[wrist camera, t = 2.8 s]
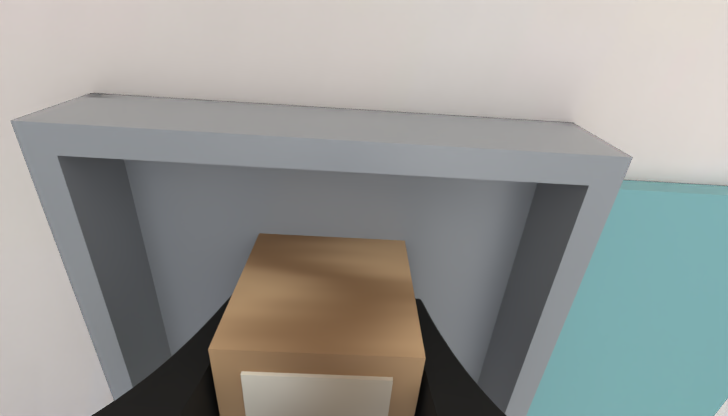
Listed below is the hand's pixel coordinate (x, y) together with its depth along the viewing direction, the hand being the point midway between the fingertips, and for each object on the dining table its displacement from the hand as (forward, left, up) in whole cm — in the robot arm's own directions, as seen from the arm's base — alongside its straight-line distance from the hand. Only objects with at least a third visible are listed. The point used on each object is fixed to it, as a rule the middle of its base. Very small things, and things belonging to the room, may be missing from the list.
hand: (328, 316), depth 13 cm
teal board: (+13, -5, -2) cm, 14 cm away
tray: (0, -5, -2) cm, 5 cm away
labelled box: (0, 0, -1) cm, 1 cm away
